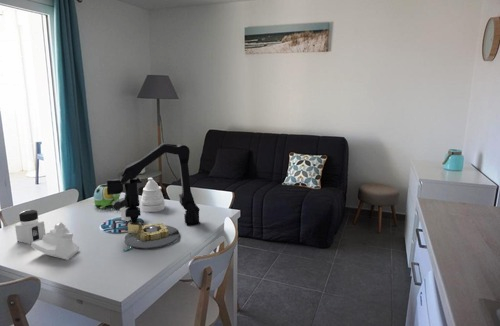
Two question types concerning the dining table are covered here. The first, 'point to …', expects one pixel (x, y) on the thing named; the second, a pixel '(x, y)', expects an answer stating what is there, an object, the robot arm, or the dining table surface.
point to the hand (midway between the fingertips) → (134, 224)
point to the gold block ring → (146, 235)
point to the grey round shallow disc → (136, 243)
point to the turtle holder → (104, 197)
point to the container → (29, 227)
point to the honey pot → (152, 197)
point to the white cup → (123, 215)
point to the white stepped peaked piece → (57, 243)
